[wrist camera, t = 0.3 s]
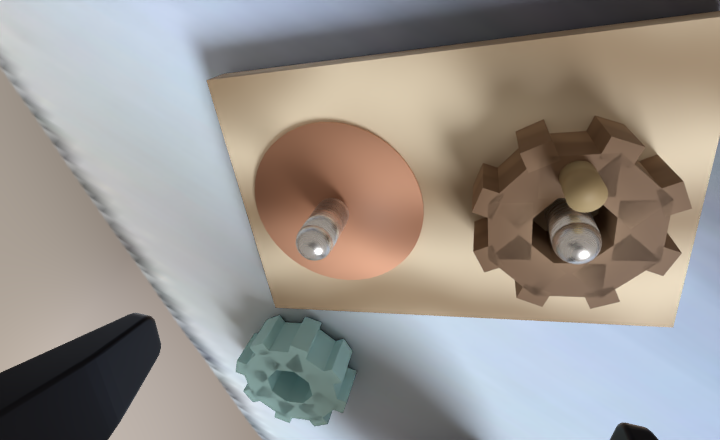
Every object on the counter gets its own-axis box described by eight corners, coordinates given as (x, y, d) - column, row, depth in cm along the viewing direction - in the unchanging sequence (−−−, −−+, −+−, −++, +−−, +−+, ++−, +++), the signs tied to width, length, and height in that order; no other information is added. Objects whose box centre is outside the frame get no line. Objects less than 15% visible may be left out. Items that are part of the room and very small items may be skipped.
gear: (647, 274, 19) (683, 340, 15) (475, 270, 21) (474, 328, 17) (679, 109, 15) (734, 146, 12) (471, 124, 17) (468, 160, 14)
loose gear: (362, 398, 30) (353, 431, 27) (269, 388, 32) (253, 418, 30) (345, 318, 26) (333, 348, 24) (242, 313, 28) (223, 340, 26)
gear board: (661, 305, 21) (674, 330, 19) (285, 291, 26) (274, 309, 25) (726, 9, 15) (752, 13, 13) (223, 73, 21) (203, 81, 19)
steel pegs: (582, 218, 18) (604, 273, 15) (324, 221, 21) (294, 267, 18) (585, 183, 17) (609, 233, 14) (318, 192, 21) (285, 235, 17)
